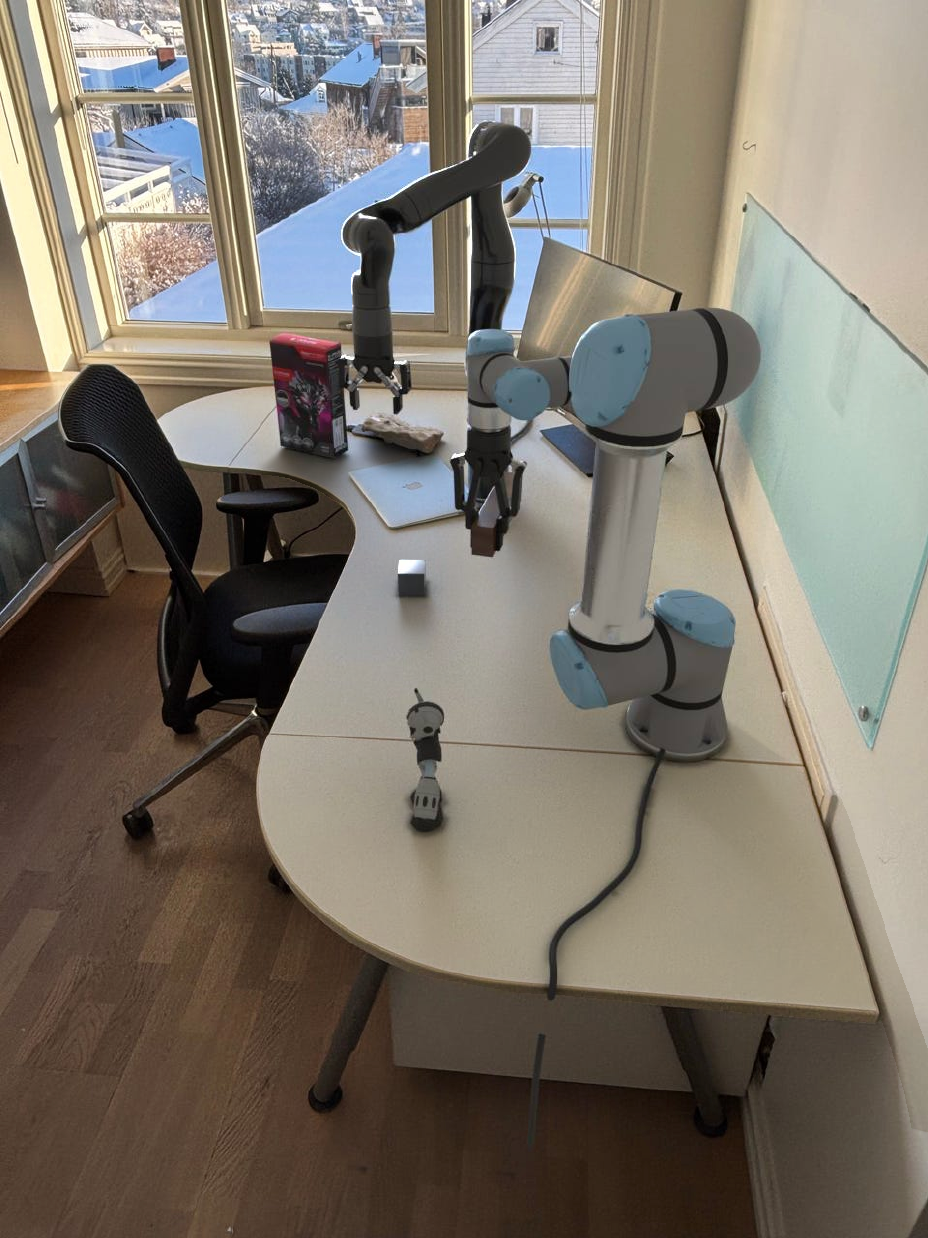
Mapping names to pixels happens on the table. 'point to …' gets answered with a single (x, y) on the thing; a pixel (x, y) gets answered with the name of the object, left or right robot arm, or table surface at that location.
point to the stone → (402, 432)
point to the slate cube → (411, 577)
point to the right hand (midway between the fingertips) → (486, 545)
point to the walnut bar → (489, 522)
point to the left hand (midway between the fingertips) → (376, 410)
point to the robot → (426, 762)
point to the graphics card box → (309, 394)
